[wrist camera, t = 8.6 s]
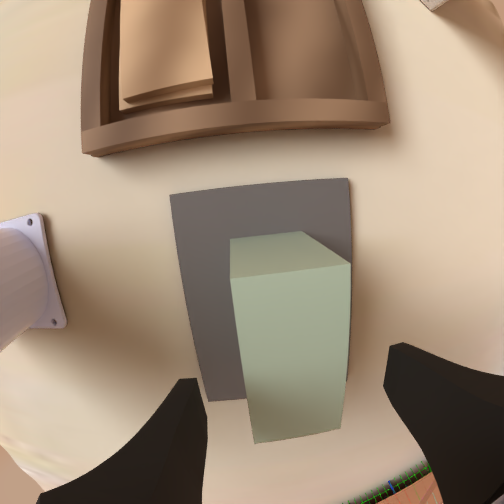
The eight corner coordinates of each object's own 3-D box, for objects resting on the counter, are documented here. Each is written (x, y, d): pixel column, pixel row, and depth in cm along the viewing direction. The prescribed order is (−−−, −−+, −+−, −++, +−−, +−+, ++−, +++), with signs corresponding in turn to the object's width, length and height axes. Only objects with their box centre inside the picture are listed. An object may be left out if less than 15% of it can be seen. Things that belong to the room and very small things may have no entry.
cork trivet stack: (124, 113, 14) (113, 106, 12) (128, -3, 12) (120, -17, 10) (215, 97, 14) (213, 87, 12) (206, -18, 12) (204, -34, 10)
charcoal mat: (208, 397, 19) (208, 401, 18) (171, 194, 16) (169, 194, 15) (344, 377, 19) (346, 381, 19) (344, 178, 16) (347, 177, 16)
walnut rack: (96, 157, 15) (79, 154, 13) (104, -6, 12) (93, -21, 10) (374, 129, 16) (393, 123, 13) (337, -26, 13) (347, -42, 10)
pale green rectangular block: (245, 362, 18) (254, 443, 11) (230, 238, 16) (229, 278, 9) (307, 353, 18) (340, 428, 11) (301, 231, 16) (350, 263, 9)
